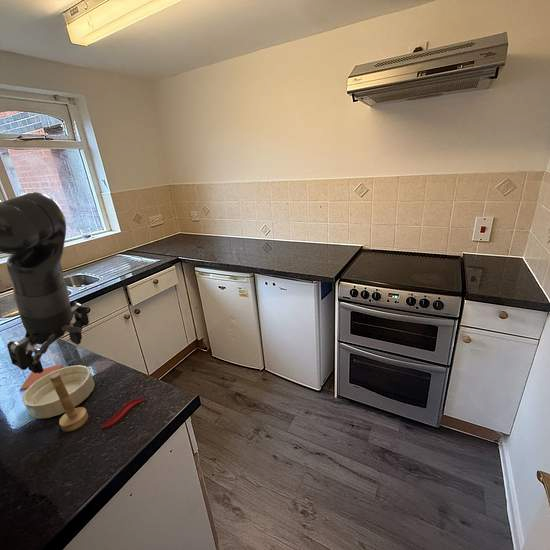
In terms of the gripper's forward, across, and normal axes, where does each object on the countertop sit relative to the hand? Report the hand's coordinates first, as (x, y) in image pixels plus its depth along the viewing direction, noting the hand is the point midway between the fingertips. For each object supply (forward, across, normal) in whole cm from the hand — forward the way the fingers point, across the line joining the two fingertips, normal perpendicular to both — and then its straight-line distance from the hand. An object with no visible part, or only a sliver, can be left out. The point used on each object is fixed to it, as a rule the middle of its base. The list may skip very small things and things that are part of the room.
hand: (57, 355), depth 63 cm
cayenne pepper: (+22, -5, +12) cm, 26 cm away
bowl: (+32, -4, -9) cm, 34 cm away
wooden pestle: (+26, +1, +2) cm, 26 cm away
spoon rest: (+40, -8, -24) cm, 47 cm away
